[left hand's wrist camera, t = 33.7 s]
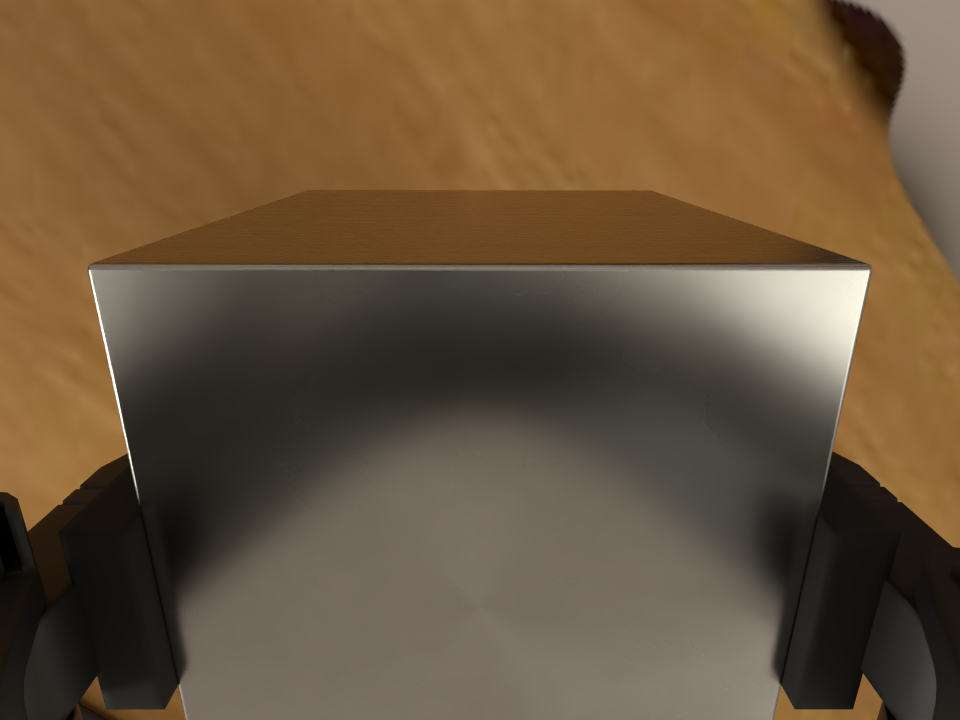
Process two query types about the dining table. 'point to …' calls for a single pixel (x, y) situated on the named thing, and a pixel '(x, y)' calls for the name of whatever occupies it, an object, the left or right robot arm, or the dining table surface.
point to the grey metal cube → (479, 452)
